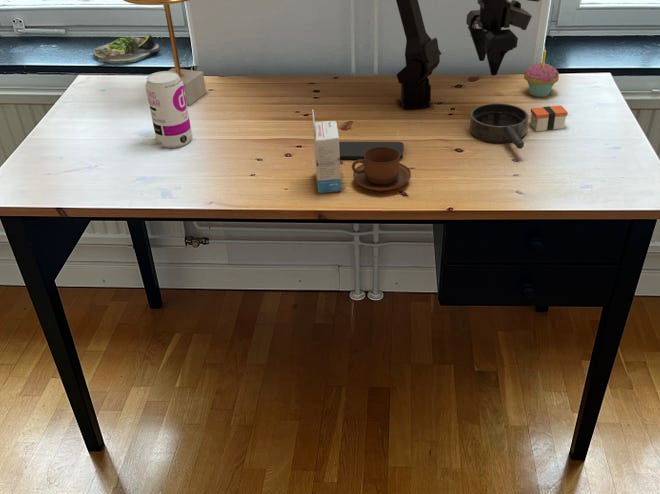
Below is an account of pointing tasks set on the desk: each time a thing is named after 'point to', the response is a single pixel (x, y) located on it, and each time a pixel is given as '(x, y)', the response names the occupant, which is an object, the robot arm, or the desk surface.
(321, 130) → the ink box
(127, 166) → the desk surface
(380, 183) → the cup and saucer
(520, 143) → the pan handle
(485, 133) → the pan
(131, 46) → the salad plate
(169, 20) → the lamp
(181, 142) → the supplement can
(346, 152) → the phone
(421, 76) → the robot arm
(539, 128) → the sushi
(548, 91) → the cupcake
